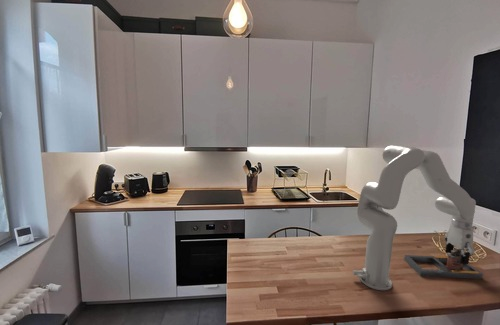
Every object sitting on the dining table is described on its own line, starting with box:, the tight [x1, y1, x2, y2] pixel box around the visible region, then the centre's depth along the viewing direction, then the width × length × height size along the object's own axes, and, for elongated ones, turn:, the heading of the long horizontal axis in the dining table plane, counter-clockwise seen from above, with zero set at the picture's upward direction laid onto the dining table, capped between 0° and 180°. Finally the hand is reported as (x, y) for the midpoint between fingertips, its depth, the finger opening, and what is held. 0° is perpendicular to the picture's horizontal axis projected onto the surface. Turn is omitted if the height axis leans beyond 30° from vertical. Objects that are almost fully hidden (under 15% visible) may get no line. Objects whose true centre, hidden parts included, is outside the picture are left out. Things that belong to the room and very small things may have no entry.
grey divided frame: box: [403, 254, 484, 280], centre depth 122 cm, size 26×14×3 cm, turn 86°
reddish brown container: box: [446, 248, 464, 271], centre depth 121 cm, size 8×3×10 cm, turn 100°
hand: (456, 258), depth 121 cm, fingers open, 9 cm apart
